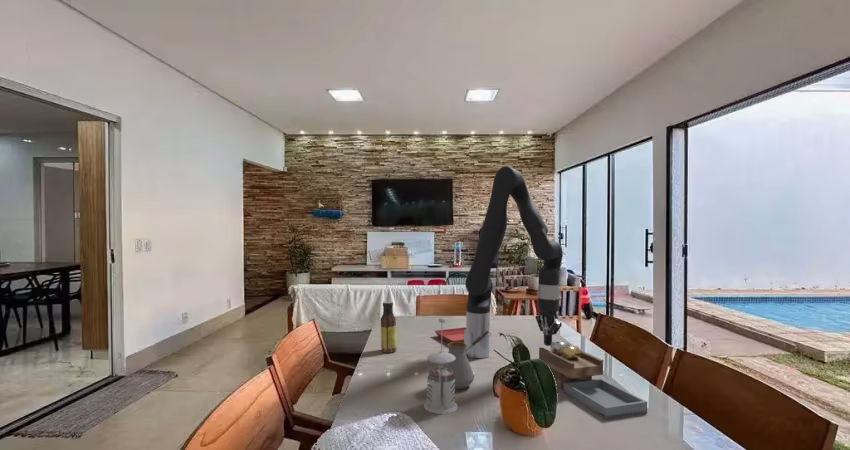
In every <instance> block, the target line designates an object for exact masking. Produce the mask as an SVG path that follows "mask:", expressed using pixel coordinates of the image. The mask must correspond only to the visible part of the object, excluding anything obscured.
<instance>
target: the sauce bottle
mask: <svg viewBox="0 0 850 450" xmlns="http://www.w3.org/2000/svg"><path fill="white" fill-rule="evenodd" d="M393 305H394V304H393V301H383V302H382V307H383V311H382V313H383V314H382V315H381V317H380V348H381V351H382V353H387V354H391V353H395V352H397V347H398V346H397V345H398V344H397V322H396V317H395V315H394V311H393V309H394V308H393Z"/></svg>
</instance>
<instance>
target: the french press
mask: <svg viewBox="0 0 850 450" xmlns="http://www.w3.org/2000/svg"><path fill="white" fill-rule="evenodd" d="M438 323H441V328H440V330H441V338H440V341H441V342H440V343H441V344H440V345H441V347H440V349H441V350H439V351H435V352H432V353H430V354H429V355H427V357H426V358H427V361H428V362H430V363H432V364H438V365H439V364H440V367H433V368H431V369H429V370H428V375H427V377H426V378H427V379H426V382H427V383H426V386H427V387H428V388H426V391H427V392H426V395H427V396H426V401H425V402H424V403H423V408H424V409H425V410H426V411H427V412H429V413H432V414H439V415H445V414H450V413H454V412H456V411H457V410H458V408H459V405H458V404H457V402H455V399H456V398H455V397H456V396H455V395H456V393H455V392H456V389H455V388H454V387H455V384H454V382H455V377H454V376H453V374H454V372H453V371H452V370H451V369H447V368H442V366H443V364H447V363H451V362H453V361H454V360H455V359H456V357H455V356H453V355H452V354H450V353H448V352H449V351H448V352H447V351H443V339H442V330H443V323H446V319H445V318H444V317H441V318H439V319H438ZM447 380H448V381H450V382H447ZM451 387H452V388H451Z"/></svg>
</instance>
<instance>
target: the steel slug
mask: <svg viewBox="0 0 850 450" xmlns="http://www.w3.org/2000/svg"><path fill="white" fill-rule="evenodd" d="M566 346H571V345H570V343H569V341H566V340H564V341H555V342H553V341H552V343H551V346H550V351H552V353H554V354H560V349H561V347H566Z"/></svg>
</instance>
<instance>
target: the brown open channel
mask: <svg viewBox="0 0 850 450" xmlns="http://www.w3.org/2000/svg"><path fill="white" fill-rule="evenodd" d="M580 351H581V356H580V358H575V359H564V358H562V357H561V354H554V353H552V351H551V350H548V349H546V348H544V347H539V348H538V353H539V354H538V360H539V359H541V360H543V361H544V362H545V363H546V364H547V365H548V366H549V367H550V369H551V371H552V373H553V375H554V378H555V381H556V384H557V386H556V387H557V388H559V389H560V388H561V389H564V383H568V382H576V381H584V380H592V379H593V377H596V376H603V375H604V359H601V358H599V357H597V356H594V355H592V354H590V353H589V352H588V353H587V352H586V351H583V350H581V349H580Z"/></svg>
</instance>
